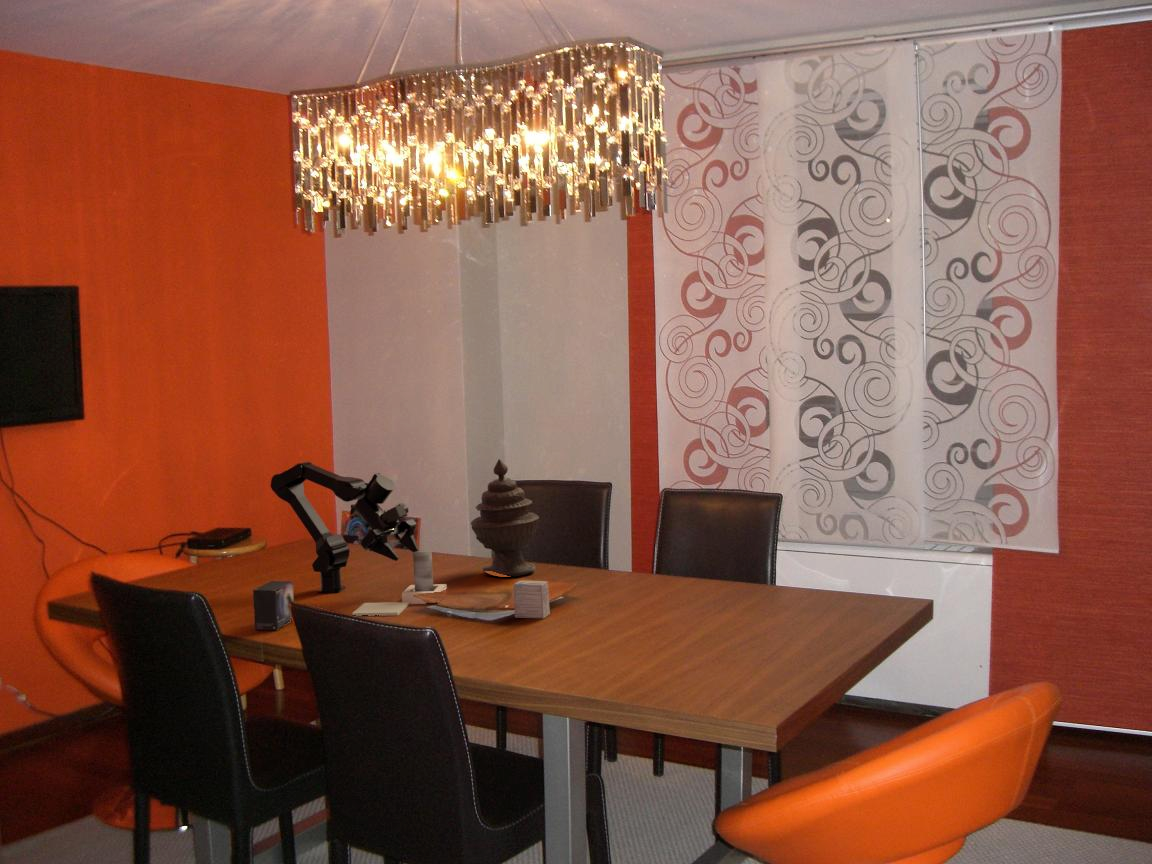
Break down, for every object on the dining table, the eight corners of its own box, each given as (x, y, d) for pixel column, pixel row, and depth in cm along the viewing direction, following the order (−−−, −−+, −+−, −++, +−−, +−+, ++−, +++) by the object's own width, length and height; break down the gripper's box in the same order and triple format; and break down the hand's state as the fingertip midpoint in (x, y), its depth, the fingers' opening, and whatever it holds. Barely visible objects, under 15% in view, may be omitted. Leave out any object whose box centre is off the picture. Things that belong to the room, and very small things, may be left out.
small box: (278, 631, 281) (275, 589, 280) (253, 631, 283) (251, 589, 282) (296, 620, 292) (294, 580, 291) (273, 620, 293) (270, 580, 292)
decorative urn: (550, 562, 346) (538, 450, 341) (537, 582, 326) (523, 463, 321) (486, 566, 350) (473, 455, 344) (469, 585, 330) (454, 468, 325)
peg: (418, 597, 311) (415, 550, 310) (436, 597, 310) (433, 550, 309) (413, 601, 306) (410, 554, 305) (431, 601, 305) (429, 554, 304)
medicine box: (550, 614, 286) (548, 581, 285) (544, 619, 281) (542, 585, 281) (521, 613, 288) (519, 580, 287) (514, 618, 284) (512, 584, 283)
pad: (364, 605, 304) (364, 602, 304) (408, 605, 303) (408, 602, 303) (352, 616, 293) (352, 613, 293) (397, 615, 292) (397, 612, 292)
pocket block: (411, 595, 314) (410, 584, 313) (447, 594, 313) (446, 584, 312) (402, 604, 304) (401, 593, 304) (438, 603, 303) (438, 592, 302)
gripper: (366, 500, 303) (402, 543, 298) (409, 490, 319) (443, 530, 314) (345, 528, 307) (380, 570, 303) (389, 517, 323) (422, 557, 319)
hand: (407, 556), depth 310 cm, fingers open, 9 cm apart
